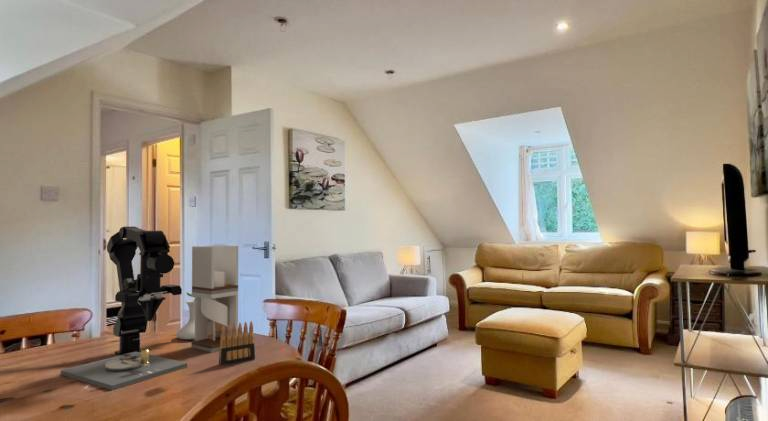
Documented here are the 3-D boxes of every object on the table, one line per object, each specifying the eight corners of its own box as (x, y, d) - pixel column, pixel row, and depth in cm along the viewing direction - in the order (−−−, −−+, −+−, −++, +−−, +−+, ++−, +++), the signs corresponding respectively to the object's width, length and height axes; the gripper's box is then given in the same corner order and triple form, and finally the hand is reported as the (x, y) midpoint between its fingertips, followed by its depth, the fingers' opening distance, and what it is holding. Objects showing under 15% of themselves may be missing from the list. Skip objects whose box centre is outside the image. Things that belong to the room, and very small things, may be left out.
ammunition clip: (220, 365, 137) (220, 325, 137) (218, 364, 138) (218, 324, 139) (255, 359, 143) (255, 321, 144) (252, 358, 145) (253, 320, 145)
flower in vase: (176, 343, 164) (177, 273, 165) (175, 336, 174) (175, 270, 175) (215, 338, 170) (215, 271, 171) (211, 332, 180) (211, 269, 181)
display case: (191, 347, 158) (192, 246, 159) (218, 340, 167) (218, 245, 168) (211, 352, 151) (211, 247, 153) (237, 345, 160) (238, 245, 161)
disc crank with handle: (97, 367, 131) (98, 348, 131) (131, 358, 139) (131, 340, 140) (129, 375, 123) (130, 355, 124) (163, 365, 132) (163, 346, 132)
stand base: (60, 374, 130) (60, 369, 130) (135, 355, 149) (135, 351, 149) (112, 390, 117) (112, 385, 117) (187, 366, 136) (187, 362, 136)
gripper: (161, 266, 154) (160, 312, 154) (105, 271, 138) (104, 323, 138) (183, 268, 149) (182, 316, 148) (126, 274, 132) (125, 328, 132)
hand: (149, 320), depth 142 cm, fingers closed
